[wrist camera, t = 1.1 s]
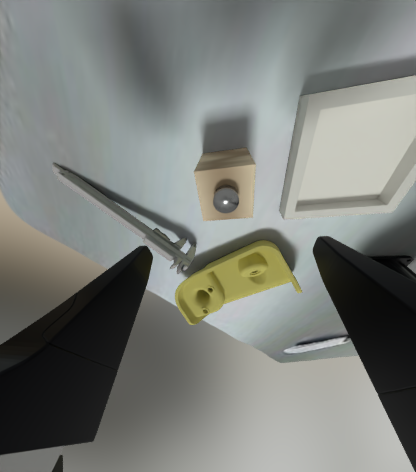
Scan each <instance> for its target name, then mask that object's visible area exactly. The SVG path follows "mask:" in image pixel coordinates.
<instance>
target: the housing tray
mask: <svg viewBox="0 0 416 472" xmlns="http://www.w3.org/2000/svg"><path fill="white" fill-rule="evenodd" d="M415 181H416V75H414V76H408V77H403V78H397V79H391V80H386V81H380V82H375V83H369V84H364V85H358V86H353V87H347V88H342V89H336V90H331V91H325V92H319V93H314V94H308V95H303V96H300V98H299V103H298V109H297V114H296V120H295V125H294V131H293V137H292V142H291V148H290V153H289V159H288V164H287V170H286V175H285V181H284V187H283V192H282V198H281V203H280V209H279V212H280V214H281V216H282V218H283V219H284V220H288V219H304V218H319V217H334V216H349V215H364V214H380V213H393V211H394V210H395V209H396V207H397V206H398V204H399V203H400V202H401V200H402V199H403V198H404V196H405V195H406V193H407V192H408V191H409V189H410V188H411V187H412V185H413V184H414V182H415Z"/></svg>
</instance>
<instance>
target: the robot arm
mask: <svg viewBox="0 0 416 472" xmlns="http://www.w3.org/2000/svg"><path fill="white" fill-rule="evenodd" d="M313 254H314V257H315V260H316V263H317V266H318V269H319V272H320V275H321V277H322V280H323V282H324V285H325V287H326V289H327V291H328V293H329V295H330V297H331V299H332V301H333V303H334V305H335V307H336V309H337V311H338V314H339V316H340V318H341V320H342V322H343V324H344V326H345V328H346V330H347V332H348V334H349V336H350V338H351V340H352V342H353V344H354V346H355V349H356V351H357V353H358V355H359V357H360V359H361V361H362V362H363V365H364V367H365V369H366V371H367V373H368V375H369V377H370V379H371V382H372V383H373V386H374V387H375V390H376V392H377V393H378V396H379V398H380V400H381V402H382V405H383V407H384V409H385V411H386V413H387V415H388V417H389V419H390V421H391V423H392V425H393V427H394V429H395V431H396V433H397V435H398V438H399V440H400V442H401V444H402V446H403V448H404V450H405V452H406V454H407V456H408V458H409V460H410V462H411V464H412V466H413V468H414V470H415V472H416V274H415V273H414V272H413V271H412V270H410V269H409V268H408V267H407V265H408V264H410V263H411V262H412V261H413V258H412V257H410V256H396V257H367V256H365V255H363V254H361V253H359V252H357V251H356V250H354V249H352V248H350V247H348V246H346V245H344V244H342V243H340V242H339V241H337V240H335V239H333V238H331V237H329V236H320V237H318V238H317V240H316V242H315V245H314V247H313ZM152 261H153V255H152V253H151V252H150V250H149V248H148V247H147V246H139V247H138V248H136V249H135V250H134V251H132V252H131V253H130V254H128V255H127V256H125V257H124V258H123V259H121V260H120V261H119V262H117V263H116V264H115V265H113V266H112V267H111V268H109V269H108V270H107V271H105V272H104V273H102V274H101V275H100V276H98V277H97V278H96V279H94V280H93V281H92V282H90V283H89V284H88V285H86V286H85V287H84V288H83V289H81V290H79V291H78V292H77V293H75V294H74V295H73V296H71V297H70V298H69V299H68V300H66V301H65V302H63V303H62V304H60V305H59V306H58V307H56V308H55V309H53V310H52V311H50V312H49V313H47V314H46V315H44V316H43V317H42V318H40V319H39V320H37V321H36V322H34V323H33V324H31V325H30V326H28V327H27V328H25V329H24V330H22V331H21V332H19V333H18V334H16V335H15V336H13V337H12V338H10V339H9V340H7V341H6V342H4V343H3V344H1V345H0V472H63V456H62V455H60V453H61V451H62V449H63V447H64V446H66V445H74V444H81V443H88V442H92V441H94V438H95V436H96V433H97V431H98V428H99V425H100V422H101V419H102V416H103V412H104V410H105V407H106V404H107V401H108V398H109V395H110V392H111V389H112V386H113V383H114V380H115V377H116V375H117V370H118V368H119V365H120V362H121V359H122V356H123V353H124V351H125V348H126V345H127V342H128V339H129V336H130V333H131V330H132V327H133V324H134V321H135V318H136V315H137V312H138V309H139V306H140V303H141V300H142V297H143V295H144V291H145V289H146V286H147V282H148V279H149V274H150V270H151V265H152Z"/></svg>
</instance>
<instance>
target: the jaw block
mask: <svg viewBox="0 0 416 472" xmlns="http://www.w3.org/2000/svg"><path fill="white" fill-rule="evenodd" d="M255 167H256V164H255V162H254V160H253V159H252V157H251V155H250V153H249V151H248V150H247V148H240V149H232V150H225V151H218V152H211V153H204V154H202V156H201V158H200V160H199V162H198V164H197V167H196V169H195V171H194V174H195V180H196V185H197V190H198V195H199V200H200V206H201V211H202V216H203V221H211V220H225V219H239V218H253V204H254V185H255Z"/></svg>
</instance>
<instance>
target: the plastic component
mask: <svg viewBox="0 0 416 472" xmlns="http://www.w3.org/2000/svg"><path fill="white" fill-rule="evenodd" d="M288 282H292V284H293V286H294V288H295V289H296V291H297V293H301V292H302V290H301V288H300V286H299V284H298V282H297V280H296V278H295V276H294V275H293V274H292V272H291V270H290V268H289V266H288V265H287V263H286V261H285V259H284V258H283V256H282V254H281V252H280V250H279V249H278V247H277V246H276V245H275V244H274V243H272V242H270V241H266V240H260V241H256V242H254V243H252V244H250V245H247V246H245V247H243V248H241V249H239V250H237V251H235V252H233V253H230V254H228V255H226V256H224V257H222V258H220V259H218V260H216V261H214V262H211V263H209V264H207V265H206V267H205V268H203V269H202V270H199V271H197V272H196V273H194V274H192V275H191V276H190V277H188V278H187V279H186V280H184V281H183V282H182V283H181V284H180V285H179V286H178V288H177V289H176V293H175V300H176V304H177V306H178V308H179V310H180V311H181V313H182V314H183V316H184V317H185V319H186V320H187V322H188V323H189V324H190V325H195V324H197V323H199V322H200V321H201V320H202V319H203V318H204V317H206V316H207V315H208V314H210V313H213V312H216V311H218V310H219V309H220V308H221V307H222V306H223V304H226V303H229V302H232V301H234V300H237V299H240V298H243V297H246V296H249V295H252V294H255V293H258V292H261V291H264V290H267V289H270V288H273V287H276V286H279V285H282V284H285V283H288Z"/></svg>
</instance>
